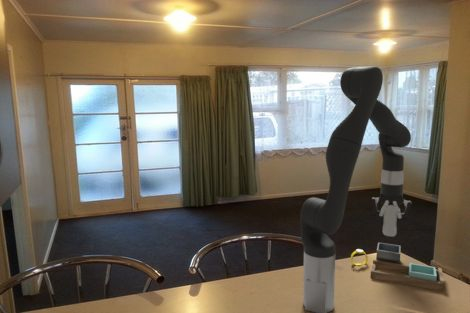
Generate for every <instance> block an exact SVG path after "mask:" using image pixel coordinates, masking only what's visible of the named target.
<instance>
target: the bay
mask: <svg viewBox="0 0 470 313" xmlns="http://www.w3.org/2000/svg"><path fill="white" fill-rule="evenodd" d="M376 269H382V270H383V269H384V270H387V271H388V270H389V271H394V272H400V273H406V274H409V264H403V263H400V264H397V263H391V262H385V261H378V260H376V259H373V260H372V266H371V270H370V279H376V280H381V281H385V282H391V283H396V284H402V285H408V286H413V287H417V288H418V287H419V288H423V289H428V290H429V289H430V290H434V291H439V292H444V291H445V290H444V286H445V279H444V273H443V269H442V267H437V269H436V275H437V280H438V281H437V280H436V281H431V280H425V279H419V278H414V277H409V275H408V276H407V275H401V274H395V273H391V272H390V273H389V272H386V271H385V272H383V271H378V270H376Z"/></svg>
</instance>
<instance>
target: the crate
mask: <svg viewBox="0 0 470 313" xmlns="http://www.w3.org/2000/svg"><path fill="white" fill-rule="evenodd" d="M408 265H409V273H408V277H414V278H419V279H425V280H431V281H436V282H437V280H438V278H437V275H436V270H437V269H436V266H431V265H430V266H429V265H424V264H417V263H412V262H409V264H408Z"/></svg>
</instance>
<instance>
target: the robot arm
mask: <svg viewBox="0 0 470 313" xmlns="http://www.w3.org/2000/svg"><path fill="white" fill-rule="evenodd" d="M383 79H384V76H383V71H382V69H381V68H380V67H377V66H355V67H349V68H346V69H345V70H343V73H342V74H341V77H340V80H339V82H340V89H341V91H342V93H343V95H344V96H345V97H346V98H347V99H348V100H349V101H351V102H352V103H353V104H354V107H353V108H352V110H351V111H350V113H349V114H348V115H347V116H346V117H345V118H344V119H343V120H342V121H341V122H340V123H339V124H338V125H337V126H336V127H335V129H334V130H333V131H332V133H331V135H330V136H329V137H330V138H329V141H328V144H327V147H326V151H325V163H326V166H327V172H328V176H329V187H328V192H327V193H328V194H327V196H326V199H322V198H319V197H309V198H307V199H306V200H305V201H304V202H303V204H302V206H301V210H300V237H301V244H302V246H303V285H302V288H303V290H302V291H303V292H302V296H303V297H302V302H303V303H302V304H303V306H304V310H305V311H308V312H313V313H330V312H331V311H333V310H334V308H335V284H336V283H335V280H336V277H335V276H336V274H335V273H336V244H335V242H334V241H333V240H332V239H331V237H329V236H328V235H334V234H336V232H337V231H338V230H339V228H340V226H341V225H342V222H343V218H344V214H345V209H346V205H347V199H348V194H349V189H350V185H351V182H352V178H353V174H354V170H355V167H356V164H357V162H358V158H359V154H360V151H361V148H362V144H363V141H364V137H365V133H366V130H367V128H368V127H367V126H368V124H369V121H370V122H371V124H372V125H373V126H374V128H375V129H376V131H377V132H378V138H377V139H378V143H379V147H380V151H381V156H382V157H381V158H382V171H381V177H380V195H379V197H374V196H373V197H371V204H372V210H373V213H374V214H375V215H378V223H379V225H380V226H382V227H383V214H384V212H385V210H386V206H387V205H395V207H396V209H395V210H396V213H397V229H399V228H400V227H401V226H402V219H403V218H407V217H408V215H409V212H410V209H411V206H412V201H411V200H406V199H405V198H404V196H403V195H404V177H405V176H404V161H405V158H404V157H405V156H404V154H401V153H398V152H395V151H394V149H393V148H405V147H407V146H408V145H409V144H411V140H412V139H411V138H412V135H411V132H410V130H409V129H408V127H407V126H405V124H403V123H402V122H401V121H399V120H398V119H397V118H396V116H395V114H394V113H393V112H392V110H391V109H390V108H389V106H387V105H386V104H385V103H383V102H381V101H380V100H379V96H380V92H381V91H382V90H381V89H382V85H383V81H384V80H383ZM379 202H380V203H381V205H382V206H381V209H380V210H379V209H378V204H379ZM403 204H404V207H405V209H404V211H403V212H401V208H400V206H401V205H403Z"/></svg>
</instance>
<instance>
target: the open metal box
mask: <svg viewBox="0 0 470 313" xmlns="http://www.w3.org/2000/svg"><path fill="white" fill-rule="evenodd" d="M401 248H402V247H401V245H398V244H391V243H386V242H385V243H384V242H378V243H377V246H376V258H375V260H378V261H385V262H391V263H397V264H401Z"/></svg>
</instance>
